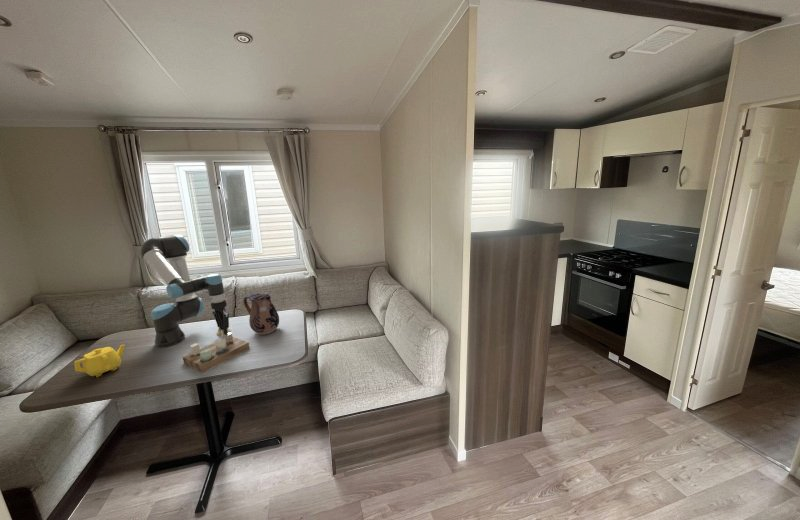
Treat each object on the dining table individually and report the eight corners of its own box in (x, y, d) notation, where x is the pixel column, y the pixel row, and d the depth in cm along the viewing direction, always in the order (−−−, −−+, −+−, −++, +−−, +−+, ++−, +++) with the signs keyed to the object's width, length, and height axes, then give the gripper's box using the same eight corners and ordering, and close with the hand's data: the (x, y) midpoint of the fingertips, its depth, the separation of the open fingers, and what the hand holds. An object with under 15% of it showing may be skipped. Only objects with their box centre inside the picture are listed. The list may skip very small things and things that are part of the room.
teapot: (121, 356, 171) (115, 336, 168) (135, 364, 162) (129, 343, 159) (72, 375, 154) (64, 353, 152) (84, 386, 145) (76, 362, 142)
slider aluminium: (225, 342, 173) (223, 334, 172) (230, 340, 176) (228, 332, 174) (228, 343, 172) (226, 335, 170) (233, 341, 174) (231, 333, 173)
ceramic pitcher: (274, 337, 185) (268, 300, 179) (240, 339, 186) (233, 301, 180) (284, 325, 202) (279, 290, 196) (254, 326, 203) (248, 291, 197)
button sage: (199, 359, 156) (197, 352, 155) (209, 354, 160) (207, 348, 159) (204, 361, 153) (203, 354, 153) (214, 356, 158) (213, 350, 157)
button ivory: (214, 348, 162) (212, 341, 161) (223, 343, 166) (222, 337, 165) (219, 350, 160) (217, 343, 159) (228, 345, 164) (227, 339, 163)
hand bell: (233, 331, 197) (229, 308, 193) (222, 336, 190) (217, 313, 186) (225, 329, 200) (221, 307, 197) (213, 334, 193) (208, 311, 189)
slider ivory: (191, 354, 162) (189, 345, 161) (197, 351, 164) (195, 343, 163) (194, 355, 160) (192, 347, 159) (200, 352, 163) (198, 344, 162)
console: (183, 363, 161) (182, 356, 160) (230, 341, 183) (229, 335, 182) (202, 372, 152) (201, 365, 151) (249, 348, 173) (248, 342, 172)
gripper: (205, 301, 169) (213, 339, 175) (217, 304, 163) (225, 343, 168) (218, 297, 176) (225, 333, 181) (231, 300, 169) (238, 338, 175)
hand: (225, 338), depth 175 cm, fingers closed
